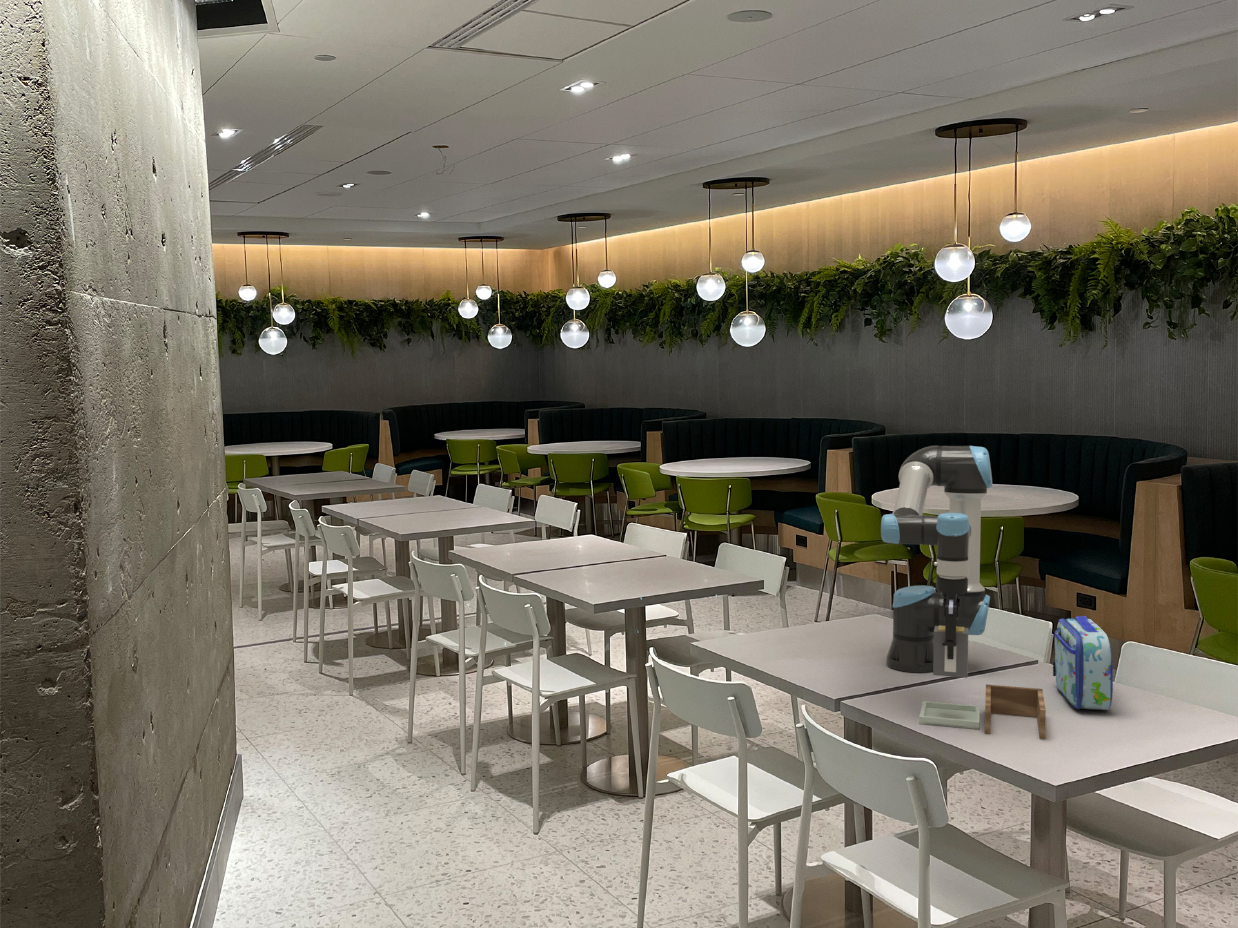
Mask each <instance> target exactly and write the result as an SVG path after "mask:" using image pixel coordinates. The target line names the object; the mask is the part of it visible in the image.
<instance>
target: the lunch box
mask: <svg viewBox="0 0 1238 928" xmlns="http://www.w3.org/2000/svg"><path fill="white" fill-rule="evenodd" d="M1056 628H1057V629H1056V630H1055V631H1054V659H1055V660H1054V661H1052V676H1053V677H1055V682H1056V688H1057V690H1058V691H1059V692H1060V693H1061V694H1062V695H1063V696H1064V698H1065V699H1067V701H1068V702H1069V704H1070V705H1071V706H1072V707H1073V708H1075V709H1076V710H1080V709H1083V710H1097V711H1099V710H1103V711H1109V710H1110V709H1111V706H1112V703H1113V694H1114V693H1113V692H1114V681H1113V680H1114V678H1113V677H1114V675H1113V673H1114V672H1113V670H1114V669H1113V655H1112V654H1113V653H1112V649H1111V644H1110V640H1109V637H1108V635H1107V633H1106V632H1105V631H1104V630H1103V629H1102V628H1101V627H1100V626H1099V625H1098V624H1097V623H1096V622H1094V621H1093V620H1092V619H1090V618H1088V617H1087V616H1085V615H1081V616H1080V615H1079V616H1075V618H1066V619H1065V618H1063V617H1062V618H1060V619H1058V622H1057V627H1056Z"/></svg>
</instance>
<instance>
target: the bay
mask: <svg viewBox="0 0 1238 928" xmlns="http://www.w3.org/2000/svg"><path fill="white" fill-rule="evenodd" d="M1044 697H1045V696H1044V691H1043V688H1037V687H1036V688H1034V687H1024V686H1013V685H1012V686H1009V685H997V684H985V701H984V702H985V704H984V706H985V709H984V711H985V712H984V715H985V716H984V720H985V721H984V734H985V735H987V734H988V735H991V714H994V715H995V714H996V715H1009V716H1019V717H1028V718H1036V719H1037V728H1038V729H1037V730H1038V738H1039V739H1040V740H1046V714H1047V713H1046V712H1047V711H1046V703H1045V698H1044Z"/></svg>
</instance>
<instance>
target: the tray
mask: <svg viewBox="0 0 1238 928" xmlns="http://www.w3.org/2000/svg"><path fill="white" fill-rule="evenodd" d="M980 715H981V706H980V705H976V704H975V705H974V704H962V703H950V702H940V701H939V702H938V701H928V700H922V702H921V707H920V712H919V719H918V720H919V725H925V726H926V725H927V726H928V725H929V726H935V727H936V726H937V727H939V726H940V727H947V728H948V727H950V728H958V729H959V728H960V729H968V730H969V729H970V730H980V717H981V716H980Z"/></svg>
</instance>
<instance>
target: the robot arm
mask: <svg viewBox="0 0 1238 928" xmlns="http://www.w3.org/2000/svg"><path fill="white" fill-rule="evenodd" d="M898 482H899V486H898V490H897V494H896V499H895V503H894V507H893V511H892V513H889V514H883V516H882V517H881V522H880V537H881V540H882V541H883V543H888V544H896V545H900V544H901V545H924V546H936V561H934V562H933V565H934V566H935V567H936V574H937V576H936V578H935V580H936V581H935V583H936V584H935V587H934V586H933V585H909V586H906V587H902V588H898V589H897V590H896V591H895V592H894V593H893V603H892V608H893V609H892V610H893V612H892V613H893V614H892V615H893V616H892V617H893V618H892V621H893V622H892V641H891V644H890V645H889V649H888V653H887V655H886V666H887V667H888V668H891V669H893V670H896V671H901V672H905V673H906V672H907V673H931V672H933V656H934V628H935V626H939V625H940V626H945V643H942V646H945V668H944V671H946V672H956V627H964V628H968V636H980V635H983V634H984V633H985V630H986V627H987V626H986V625H987V619H988V614H989V613H988V612H989V607H990V600H991V596H990V595H988V594H986V593H985V592H986V589H985V587H984V586H983V585H982V583H980V579H981V578H980V577H981V576H980V575H981V574H980V573H981V572H980V570H981V569H980V568H981V564H980V563H981V521H982V519H981V518H982V517H981V515H982V499H983V498H984V497H985V496H986V495H987V493H988V489H990V488H992V487H993V476H992V468H991V461H990V454H989V451H988V450H987V448H986V447H983V446H974V445H929V446H926V447H923V448H921V449H918V450H917V451H914V452H913V453H911V454H910V455H909V456H908V457H907V458H906V459H905V460H904V461H903V463H902V464H901V466H900V468H899V472H898ZM935 486H936V487H944V488H943V489H944V490H943V491H944V492H943V493H944V495H946V496H947V497H948V499H949V510H948V511H949V512H944V513H943V512H942V513H940V514H938V515H924V514H923V513H924V509H925V504H926V503H925V502H926V500H927V494H928V489H929V488H930V487H935ZM952 640H953V641H952Z"/></svg>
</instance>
